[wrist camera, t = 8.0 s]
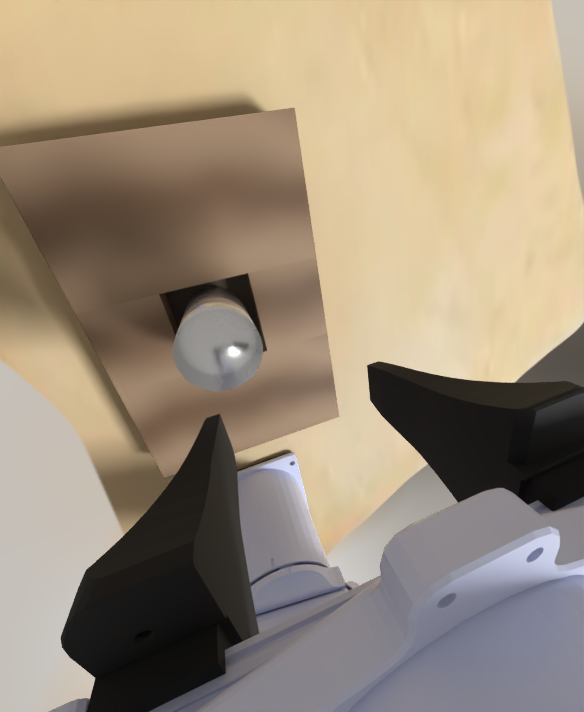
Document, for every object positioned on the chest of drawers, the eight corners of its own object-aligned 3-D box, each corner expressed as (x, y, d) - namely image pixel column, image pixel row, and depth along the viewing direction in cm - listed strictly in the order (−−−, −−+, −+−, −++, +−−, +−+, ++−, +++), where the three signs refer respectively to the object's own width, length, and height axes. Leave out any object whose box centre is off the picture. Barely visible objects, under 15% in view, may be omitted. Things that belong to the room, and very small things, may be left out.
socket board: (327, 401, 25) (339, 416, 23) (168, 454, 22) (164, 477, 20) (282, 126, 16) (294, 107, 14) (20, 163, 14) (-15, 148, 12)
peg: (252, 335, 20) (271, 376, 14) (197, 351, 19) (191, 402, 13) (236, 280, 18) (250, 298, 12) (175, 296, 18) (157, 323, 12)
